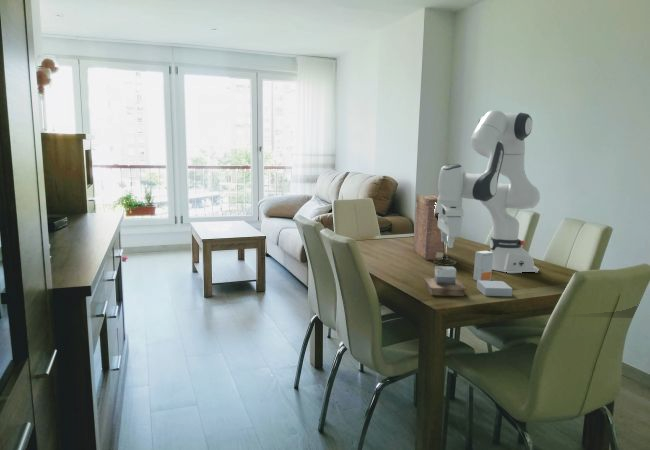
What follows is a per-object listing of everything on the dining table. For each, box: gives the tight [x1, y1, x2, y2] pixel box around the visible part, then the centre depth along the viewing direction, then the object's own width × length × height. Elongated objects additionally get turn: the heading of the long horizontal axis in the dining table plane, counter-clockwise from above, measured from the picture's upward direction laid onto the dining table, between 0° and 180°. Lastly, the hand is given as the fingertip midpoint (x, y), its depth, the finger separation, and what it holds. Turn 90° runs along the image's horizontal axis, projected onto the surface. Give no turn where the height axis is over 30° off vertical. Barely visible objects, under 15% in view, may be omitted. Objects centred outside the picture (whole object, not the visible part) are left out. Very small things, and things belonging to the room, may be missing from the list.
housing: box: [433, 265, 457, 285], centre depth 179 cm, size 7×4×6 cm, turn 89°
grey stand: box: [476, 280, 513, 297], centre depth 180 cm, size 10×10×3 cm
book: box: [413, 194, 445, 261], centre depth 241 cm, size 25×9×30 cm, turn 2°
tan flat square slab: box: [423, 277, 467, 297], centre depth 180 cm, size 13×13×3 cm
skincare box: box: [472, 250, 493, 281], centre depth 196 cm, size 6×4×12 cm
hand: (447, 244), depth 178 cm, fingers open, 8 cm apart
